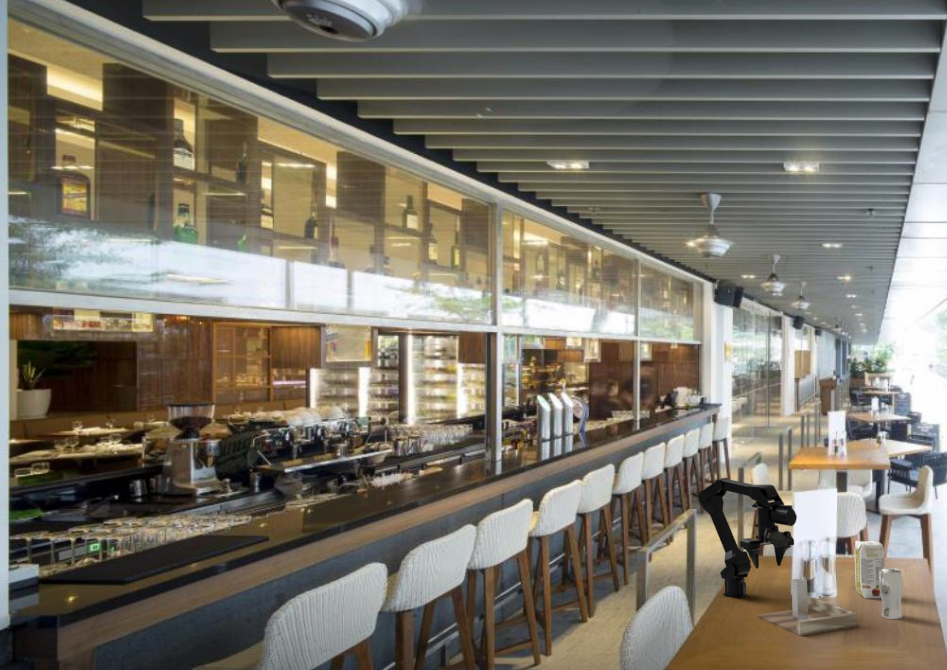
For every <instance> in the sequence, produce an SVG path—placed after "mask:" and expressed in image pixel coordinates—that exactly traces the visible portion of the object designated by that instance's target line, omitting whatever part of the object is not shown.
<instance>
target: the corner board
mask: <svg viewBox="0 0 947 670" xmlns="http://www.w3.org/2000/svg"><path fill="white" fill-rule="evenodd" d="M807 597H808V616H809V617H811V618H814V619H808V620H801V621H793V614H792V609H789V610H781V611H776V612H774V611H773V612H770V613H769V612H768V613H763V614H756V617H757V618H758V619H761V620H763V621H766V622H768V623H771V624H773V625H774V626H777V627H779V628H781V629H783V630H787V632H788V631H789V632H790V633H793V634H795V635H798V636H799V635H800V636H799V637H801V636H808V635H812V634H813V635H814V634H820V633H825V632H831V631H839V630H845V629H849V628H850V627H851V628H856V626H857V627H858V613H856V612H854V611H851V610H848V609H846V608H842V607H840V606H837V605H834V604H831V603H829V602H826V601H824V600H821V599H818V598H815V597H813V596H807Z"/></svg>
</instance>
